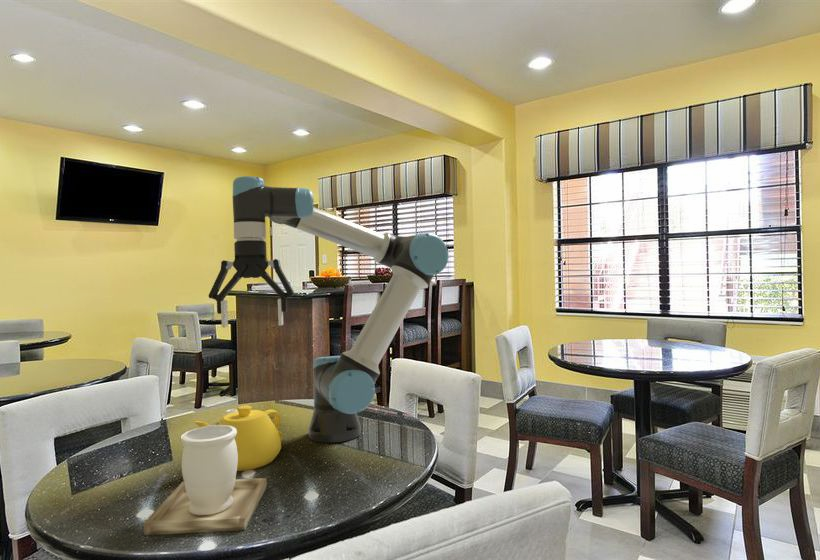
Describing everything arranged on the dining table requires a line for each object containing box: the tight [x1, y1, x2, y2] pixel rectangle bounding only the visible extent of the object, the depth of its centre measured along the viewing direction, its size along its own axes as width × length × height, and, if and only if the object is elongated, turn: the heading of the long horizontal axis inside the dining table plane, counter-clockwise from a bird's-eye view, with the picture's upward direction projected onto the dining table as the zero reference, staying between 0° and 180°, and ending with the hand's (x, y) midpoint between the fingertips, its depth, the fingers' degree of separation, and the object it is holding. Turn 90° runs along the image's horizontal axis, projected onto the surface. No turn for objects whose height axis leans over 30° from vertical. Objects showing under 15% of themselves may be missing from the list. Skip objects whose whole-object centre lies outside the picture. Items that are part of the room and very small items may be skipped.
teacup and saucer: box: [222, 408, 237, 417], centre depth 160 cm, size 9×8×4 cm
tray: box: [143, 477, 268, 536], centre depth 99 cm, size 18×18×2 cm
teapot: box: [193, 404, 284, 472], centre depth 125 cm, size 25×18×14 cm
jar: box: [180, 424, 238, 515], centre depth 99 cm, size 11×10×15 cm
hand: (253, 326), depth 122 cm, fingers open, 13 cm apart
